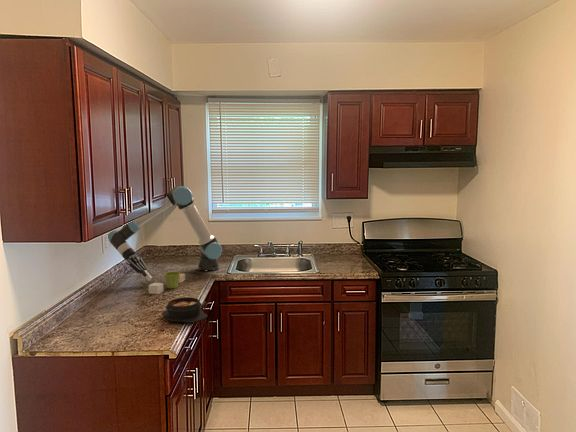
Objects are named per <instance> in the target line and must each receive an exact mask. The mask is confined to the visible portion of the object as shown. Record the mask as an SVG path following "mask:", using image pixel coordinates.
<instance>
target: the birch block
mask: <svg viewBox="0 0 576 432" xmlns="http://www.w3.org/2000/svg"><path fill="white" fill-rule="evenodd" d="M179 273H180V272H179ZM184 280H185V281H186V273H180V274H179V279H178V284H182V283H184V282H185V281H184ZM183 281H184V282H183ZM181 282H182V283H181Z"/></svg>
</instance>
